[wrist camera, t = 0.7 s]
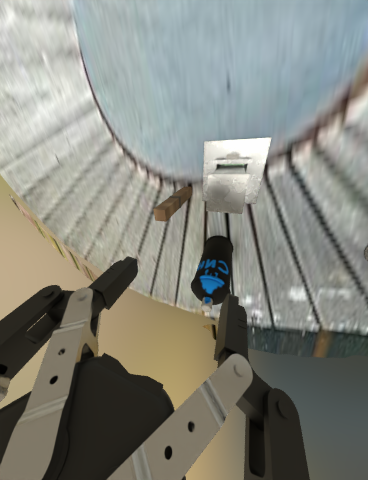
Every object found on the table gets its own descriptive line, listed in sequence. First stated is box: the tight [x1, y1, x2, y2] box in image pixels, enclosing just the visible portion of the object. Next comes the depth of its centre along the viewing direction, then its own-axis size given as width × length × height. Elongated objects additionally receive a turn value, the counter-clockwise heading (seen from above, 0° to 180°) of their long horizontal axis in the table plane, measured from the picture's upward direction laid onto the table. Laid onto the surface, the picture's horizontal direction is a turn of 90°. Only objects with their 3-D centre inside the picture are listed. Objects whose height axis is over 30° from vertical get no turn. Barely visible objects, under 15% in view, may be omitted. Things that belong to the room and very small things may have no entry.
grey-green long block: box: [206, 164, 250, 214], centre depth 24 cm, size 5×5×16 cm
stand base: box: [203, 138, 271, 204], centre depth 28 cm, size 12×12×7 cm
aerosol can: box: [191, 236, 233, 312], centre depth 34 cm, size 8×8×20 cm
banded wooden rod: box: [154, 187, 192, 222], centre depth 29 cm, size 2×2×16 cm
